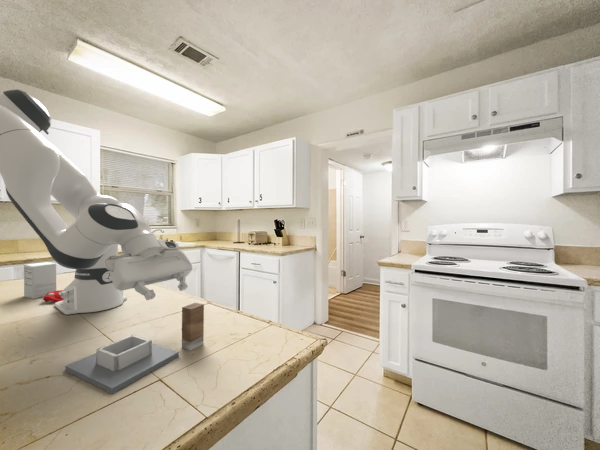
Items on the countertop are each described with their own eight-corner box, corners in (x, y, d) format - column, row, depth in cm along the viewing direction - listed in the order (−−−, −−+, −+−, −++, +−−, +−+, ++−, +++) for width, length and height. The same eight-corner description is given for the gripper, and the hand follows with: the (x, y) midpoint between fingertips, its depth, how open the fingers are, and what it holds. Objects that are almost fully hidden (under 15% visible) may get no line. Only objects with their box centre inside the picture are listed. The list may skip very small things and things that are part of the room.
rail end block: (181, 348, 62) (182, 307, 62) (194, 341, 66) (195, 302, 65) (190, 350, 61) (191, 309, 60) (203, 343, 64) (203, 304, 64)
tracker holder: (76, 299, 94) (40, 296, 89) (73, 310, 95) (37, 307, 90) (86, 284, 105) (55, 281, 100) (84, 294, 105) (52, 291, 101)
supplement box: (48, 291, 106) (48, 261, 106) (56, 294, 103) (56, 263, 103) (23, 296, 100) (23, 264, 99) (31, 299, 96) (31, 266, 96)
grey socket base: (65, 370, 52) (65, 351, 52) (133, 341, 65) (134, 325, 65) (112, 393, 45) (112, 371, 45) (178, 356, 58) (178, 338, 58)
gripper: (107, 248, 59) (133, 296, 55) (182, 242, 78) (205, 278, 73) (96, 265, 61) (120, 313, 57) (171, 256, 79) (194, 291, 75)
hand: (169, 293), depth 65 cm, fingers open, 8 cm apart
